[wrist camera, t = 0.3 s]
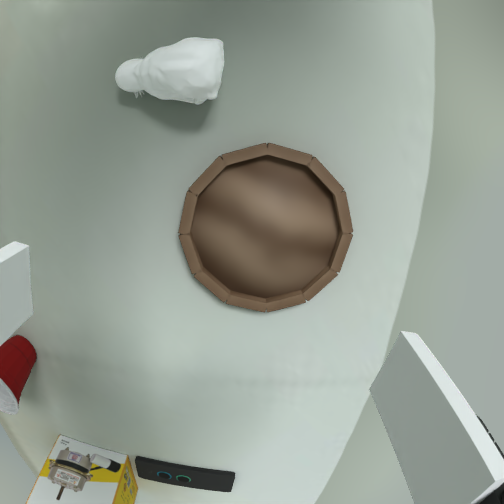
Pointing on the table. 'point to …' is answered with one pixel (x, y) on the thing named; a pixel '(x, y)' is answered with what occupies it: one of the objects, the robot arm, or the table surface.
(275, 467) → the table surface
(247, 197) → the coaster
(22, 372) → the plastic cup
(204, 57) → the white piece
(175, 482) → the smart home device
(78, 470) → the packaging box
